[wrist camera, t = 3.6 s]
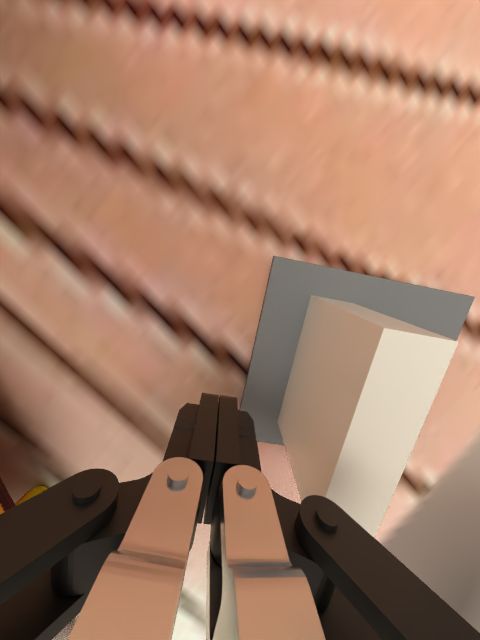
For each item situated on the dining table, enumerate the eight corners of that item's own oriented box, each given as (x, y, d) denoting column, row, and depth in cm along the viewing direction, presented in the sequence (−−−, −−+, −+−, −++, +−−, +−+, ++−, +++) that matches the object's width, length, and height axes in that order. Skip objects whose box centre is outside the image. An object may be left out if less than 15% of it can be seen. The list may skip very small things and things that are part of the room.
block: (277, 421, 19) (311, 535, 11) (311, 294, 17) (384, 328, 9) (317, 427, 19) (378, 541, 11) (355, 303, 17) (464, 342, 9)
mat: (234, 434, 19) (234, 438, 19) (273, 256, 16) (274, 256, 16) (401, 456, 21) (405, 460, 20) (469, 296, 18) (474, 297, 17)
